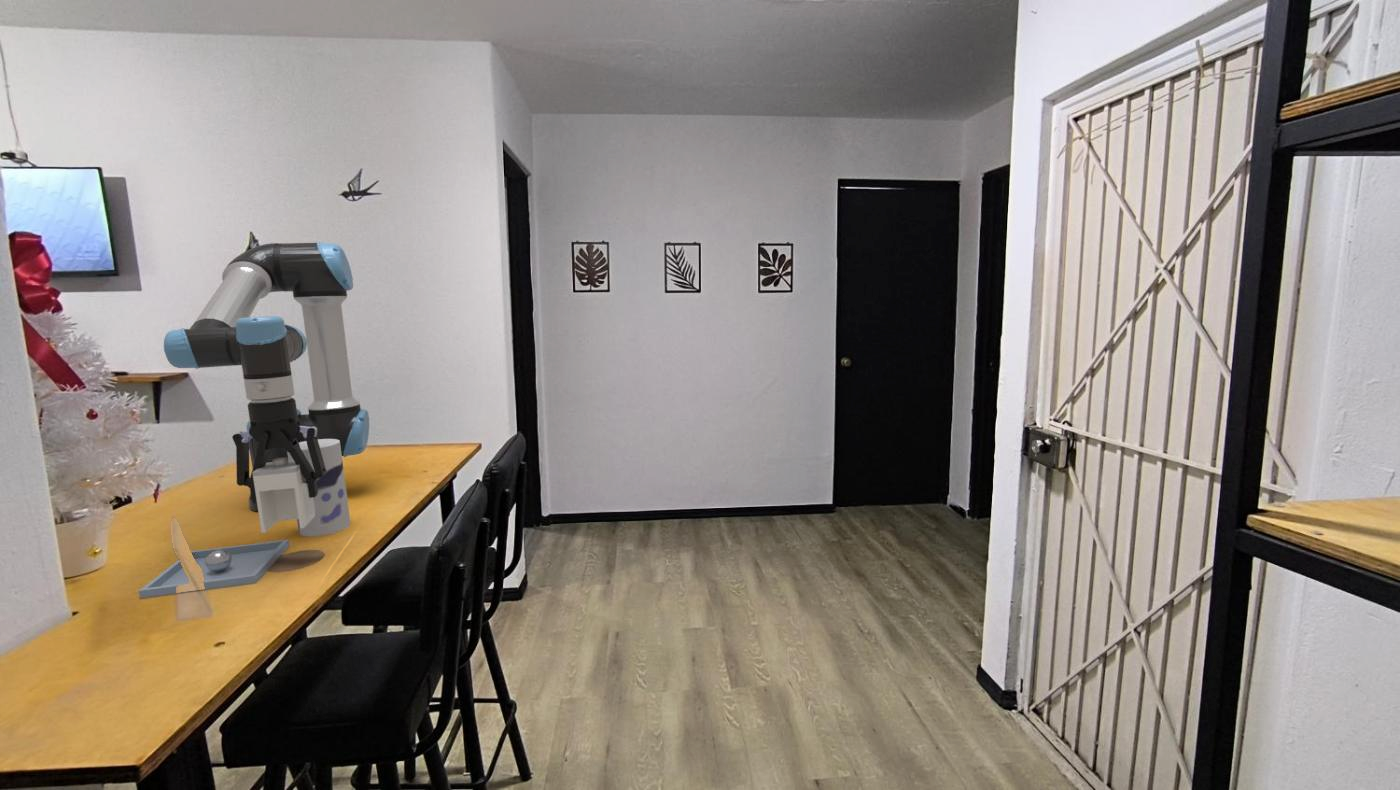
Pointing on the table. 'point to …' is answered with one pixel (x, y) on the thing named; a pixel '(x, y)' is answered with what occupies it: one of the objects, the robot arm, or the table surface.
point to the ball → (218, 561)
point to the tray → (242, 571)
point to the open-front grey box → (280, 493)
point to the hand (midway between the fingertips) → (288, 515)
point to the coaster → (296, 560)
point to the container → (328, 492)
